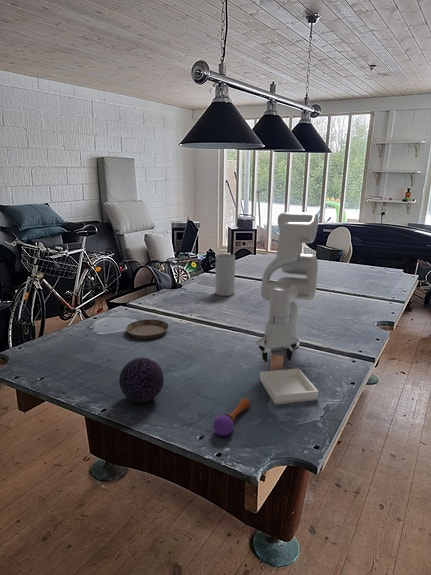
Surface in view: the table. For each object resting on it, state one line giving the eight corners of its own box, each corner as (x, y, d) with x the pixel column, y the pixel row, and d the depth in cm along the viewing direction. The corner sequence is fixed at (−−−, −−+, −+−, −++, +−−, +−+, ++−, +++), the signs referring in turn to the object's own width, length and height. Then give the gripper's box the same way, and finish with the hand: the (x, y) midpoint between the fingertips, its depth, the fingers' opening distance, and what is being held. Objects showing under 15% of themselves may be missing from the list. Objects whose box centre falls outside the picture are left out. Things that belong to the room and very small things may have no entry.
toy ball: (166, 388, 151) (164, 350, 147) (162, 410, 137) (160, 369, 133) (124, 388, 151) (122, 350, 147) (116, 411, 136) (114, 370, 132)
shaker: (268, 368, 167) (269, 347, 164) (280, 367, 168) (281, 347, 165) (272, 374, 162) (273, 353, 160) (285, 373, 163) (286, 352, 160)
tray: (259, 380, 157) (260, 371, 156) (298, 376, 160) (299, 368, 159) (274, 404, 141) (275, 395, 140) (317, 400, 144) (318, 391, 143)
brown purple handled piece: (255, 398, 137) (229, 425, 120) (251, 413, 139) (225, 442, 122) (239, 391, 140) (212, 416, 122) (235, 406, 141) (208, 433, 124)
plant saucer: (161, 342, 192) (160, 336, 192) (119, 339, 196) (119, 332, 195) (174, 327, 212) (173, 321, 211) (136, 324, 216) (135, 318, 215)
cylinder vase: (237, 292, 272) (238, 255, 266) (228, 297, 262) (228, 258, 255) (221, 289, 279) (222, 253, 272) (211, 294, 268) (211, 256, 262)
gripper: (296, 314, 164) (294, 355, 168) (254, 316, 161) (253, 357, 165) (304, 320, 157) (301, 362, 161) (260, 323, 154) (258, 365, 158)
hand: (276, 360), depth 163 cm, fingers open, 9 cm apart
